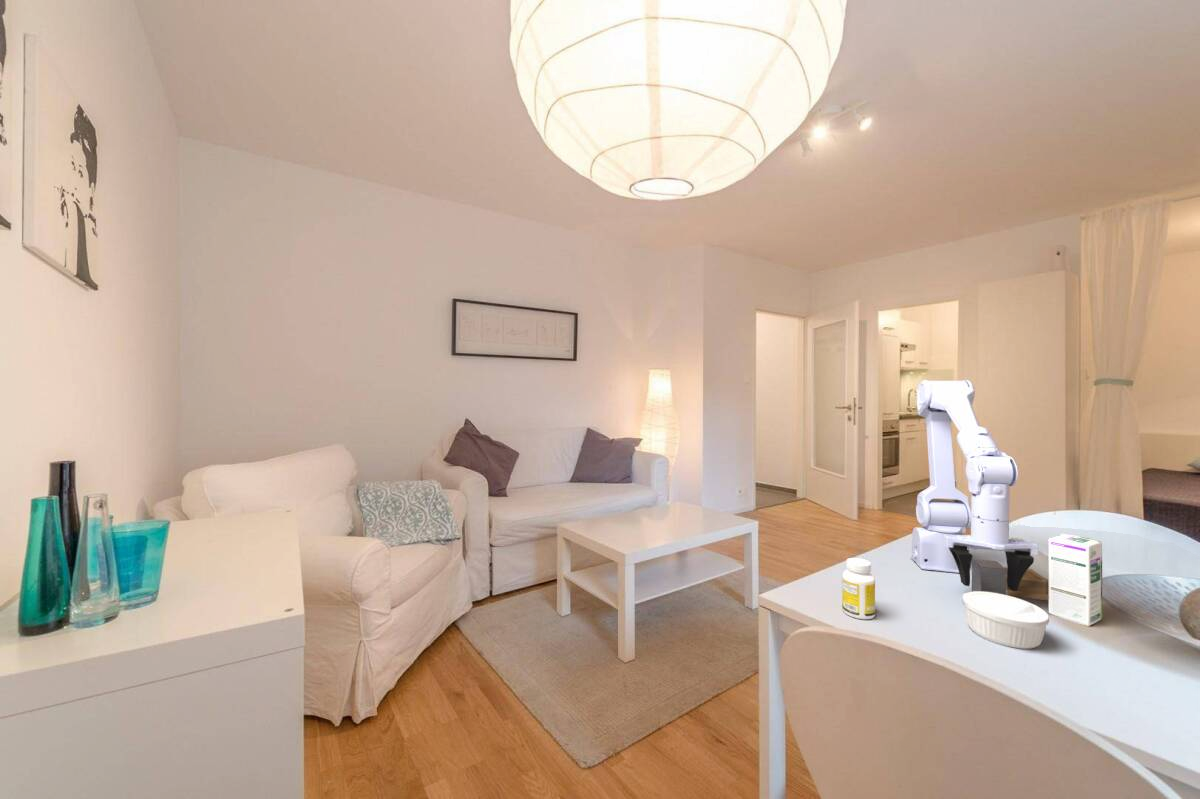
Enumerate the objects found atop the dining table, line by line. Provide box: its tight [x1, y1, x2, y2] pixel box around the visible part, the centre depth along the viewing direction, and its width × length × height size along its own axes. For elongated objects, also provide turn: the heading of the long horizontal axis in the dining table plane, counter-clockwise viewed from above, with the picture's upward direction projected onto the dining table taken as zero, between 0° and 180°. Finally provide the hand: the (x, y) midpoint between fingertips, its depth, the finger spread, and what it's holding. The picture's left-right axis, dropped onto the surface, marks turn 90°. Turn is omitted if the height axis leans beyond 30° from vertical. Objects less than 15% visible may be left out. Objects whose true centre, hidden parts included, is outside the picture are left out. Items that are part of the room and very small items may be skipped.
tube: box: [1010, 537, 1049, 580], centre depth 106 cm, size 5×5×25 cm
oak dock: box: [1004, 566, 1049, 602], centre depth 98 cm, size 7×7×4 cm
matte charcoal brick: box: [970, 558, 1007, 595], centre depth 92 cm, size 4×4×8 cm
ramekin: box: [962, 591, 1050, 650], centre depth 81 cm, size 11×11×5 cm
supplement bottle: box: [841, 557, 876, 620], centre depth 88 cm, size 5×5×10 cm
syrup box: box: [1048, 533, 1103, 627], centre depth 87 cm, size 6×6×14 cm
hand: (988, 586), depth 92 cm, fingers open, 7 cm apart
